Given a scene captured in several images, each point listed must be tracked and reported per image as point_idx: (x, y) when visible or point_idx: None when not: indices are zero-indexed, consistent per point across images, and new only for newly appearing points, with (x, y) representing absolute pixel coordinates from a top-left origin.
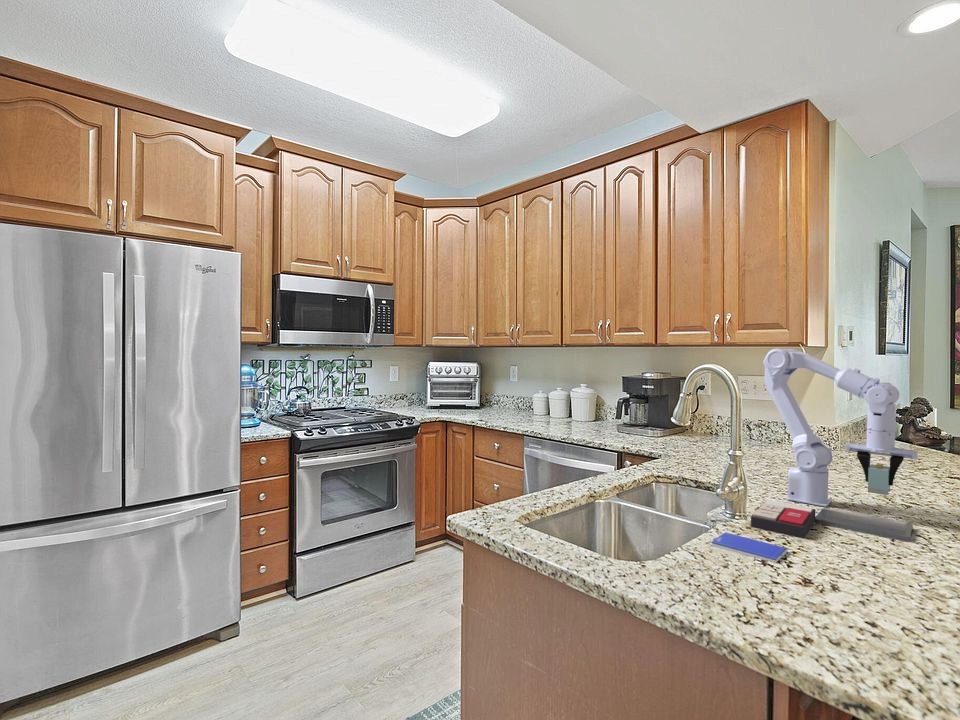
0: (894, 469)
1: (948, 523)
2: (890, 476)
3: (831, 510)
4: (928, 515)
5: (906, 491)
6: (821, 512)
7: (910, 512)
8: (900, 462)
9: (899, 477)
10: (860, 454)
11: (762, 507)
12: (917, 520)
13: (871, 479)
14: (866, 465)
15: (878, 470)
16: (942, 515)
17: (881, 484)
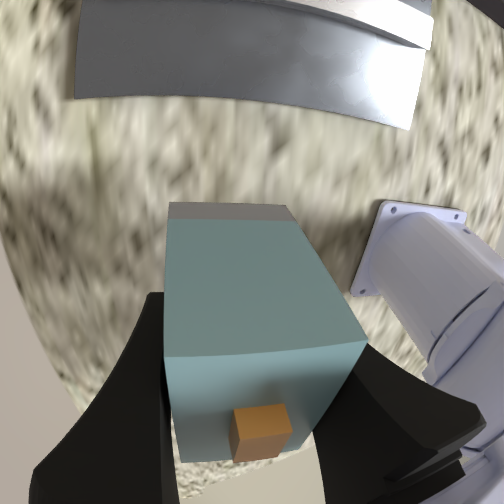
0: (116, 402)
1: (20, 279)
2: (155, 340)
3: (408, 6)
4: (81, 330)
5: (175, 452)
6: (419, 54)
7: (124, 331)
8: (35, 478)
9: (198, 484)
10: (441, 461)
11: None
12: (84, 248)
13: (297, 261)
14: (374, 380)
15: (271, 338)
16: (60, 350)
17: (215, 241)
